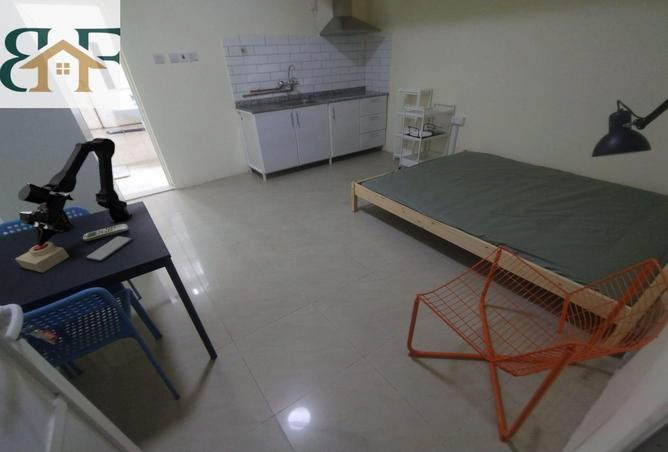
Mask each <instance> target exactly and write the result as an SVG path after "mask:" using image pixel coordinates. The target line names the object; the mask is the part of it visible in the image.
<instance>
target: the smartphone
mask: <svg viewBox="0 0 668 452" xmlns="http://www.w3.org/2000/svg"><path fill="white" fill-rule="evenodd" d="M132 240H133V239H132V238H131V237H125V236H120V235H119V236H115V237H114V238H113V239H111V240H110V241H108V242H107V243H105V244H103V245H102V246H100V247H99V248H97V249H95V250H94V251H92V252H91V253H90V254H88V255H86V259H89V260H94V261H97V262H103V261H104V260H105V259H107V258H108V257H110V256H111V255H113V254H114V253H115V252H117V251H118V250H120V249H121V248H123V247H125V246H126V245H127V244H128V243H130V242H132Z"/></svg>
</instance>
